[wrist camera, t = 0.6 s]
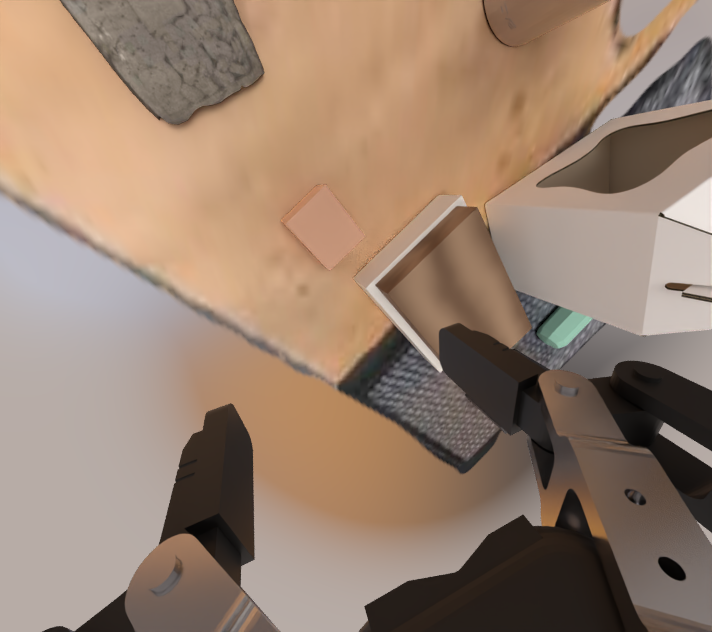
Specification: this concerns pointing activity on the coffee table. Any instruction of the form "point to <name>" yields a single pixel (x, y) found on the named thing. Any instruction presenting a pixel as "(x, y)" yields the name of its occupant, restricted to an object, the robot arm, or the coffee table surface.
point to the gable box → (618, 224)
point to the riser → (395, 253)
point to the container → (562, 327)
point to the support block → (323, 226)
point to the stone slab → (172, 50)
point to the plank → (456, 283)
